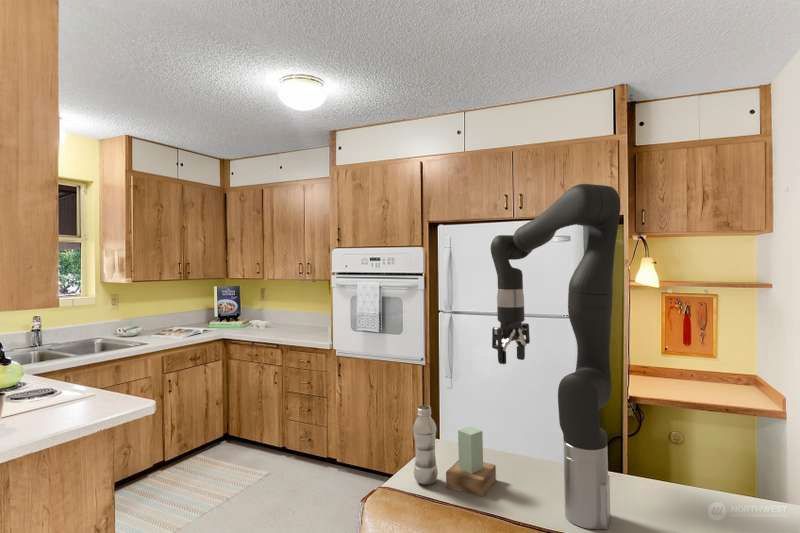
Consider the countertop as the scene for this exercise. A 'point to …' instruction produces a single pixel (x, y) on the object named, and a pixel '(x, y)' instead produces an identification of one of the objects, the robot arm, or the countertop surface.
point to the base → (471, 479)
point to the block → (470, 449)
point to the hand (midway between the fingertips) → (511, 361)
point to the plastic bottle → (425, 447)
